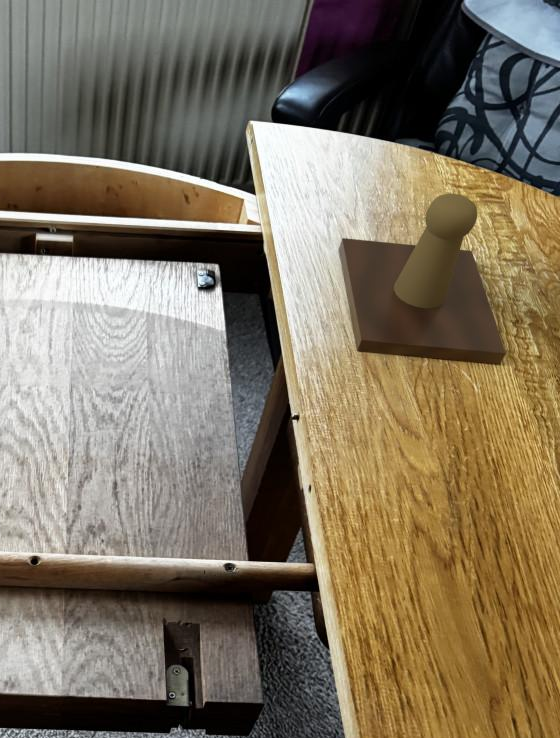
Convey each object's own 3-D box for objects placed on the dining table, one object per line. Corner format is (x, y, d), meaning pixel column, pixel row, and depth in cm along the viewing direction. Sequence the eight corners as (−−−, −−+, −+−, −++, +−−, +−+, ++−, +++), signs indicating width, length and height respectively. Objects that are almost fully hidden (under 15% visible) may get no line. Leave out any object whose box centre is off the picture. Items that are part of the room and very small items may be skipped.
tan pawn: (389, 299, 106) (425, 206, 97) (398, 271, 109) (433, 180, 100) (441, 314, 105) (482, 222, 96) (449, 285, 108) (489, 194, 99)
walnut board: (467, 261, 114) (472, 250, 113) (500, 364, 103) (506, 353, 101) (338, 249, 114) (342, 237, 113) (357, 351, 102) (361, 339, 101)
